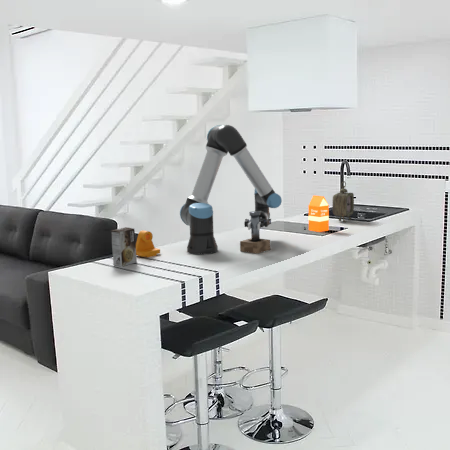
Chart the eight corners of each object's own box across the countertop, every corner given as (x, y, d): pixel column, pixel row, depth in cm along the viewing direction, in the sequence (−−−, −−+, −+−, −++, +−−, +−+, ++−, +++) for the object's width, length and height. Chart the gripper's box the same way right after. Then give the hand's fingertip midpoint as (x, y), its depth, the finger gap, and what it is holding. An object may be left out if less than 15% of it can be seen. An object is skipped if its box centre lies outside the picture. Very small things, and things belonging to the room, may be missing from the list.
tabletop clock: (345, 223, 357) (345, 182, 353) (331, 222, 362) (331, 182, 358) (353, 219, 369) (354, 180, 365) (340, 218, 374) (340, 180, 370)
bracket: (142, 258, 278) (141, 233, 276) (134, 256, 283) (132, 232, 281) (161, 254, 285) (159, 230, 283) (152, 252, 290) (151, 228, 288)
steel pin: (249, 245, 284) (248, 212, 282) (251, 243, 289) (250, 211, 287) (260, 245, 283) (259, 212, 281) (261, 243, 288) (260, 211, 286)
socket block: (257, 253, 279) (257, 243, 279) (240, 251, 286) (240, 241, 285) (270, 249, 287) (270, 239, 286) (253, 247, 294) (253, 237, 293)
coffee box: (127, 261, 273) (125, 227, 270) (137, 262, 269) (135, 228, 266) (112, 264, 266) (110, 230, 263) (122, 266, 262) (119, 231, 259)
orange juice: (319, 232, 330) (319, 197, 327) (308, 230, 338) (308, 195, 334) (329, 230, 335) (328, 195, 332) (318, 228, 342) (317, 194, 339)
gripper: (276, 226, 301) (271, 234, 278) (243, 226, 304) (236, 234, 282) (276, 211, 300) (271, 219, 277) (243, 212, 303) (235, 219, 280)
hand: (253, 227), depth 279 cm, fingers closed on steel pin, 4 cm apart
